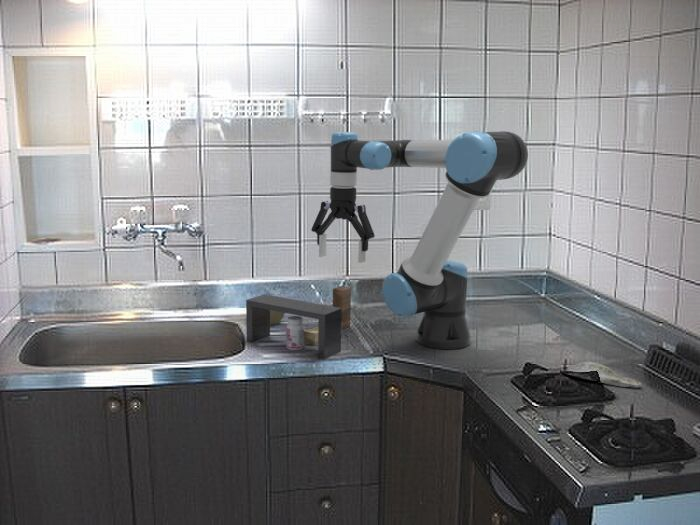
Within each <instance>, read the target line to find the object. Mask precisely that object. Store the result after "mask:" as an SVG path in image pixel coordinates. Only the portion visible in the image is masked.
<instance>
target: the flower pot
mask: <svg viewBox="0 0 700 525" xmlns="http://www.w3.org/2000/svg"><path fill="white" fill-rule="evenodd" d="M276 296H277V297H280V296H279V295H276ZM282 297H283V296H282ZM283 298H285V297H283ZM285 314H286V313H284V312H279V311H273V310H270V326H273V325H279V323H281V321H282V319H283V318H284V316H285Z"/></svg>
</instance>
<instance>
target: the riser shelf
mask: <svg viewBox="0 0 700 525" xmlns="http://www.w3.org/2000/svg"><path fill="white" fill-rule="evenodd" d="M277 296H278V295H271V294H265V293H263V294H260V295H258V296H254V297H251V298H248V299H246V300H245V303H246V304H245V310H246V311H245V312H246V314H245V315H246V319H245V320H246V342H247V343H251V344H253V343H255V342H258V341H261V340H264V339H266V338H269V337H270V336H271V325H270V310H273V311H279V312H284V313H285V314H289V315H293V316H300V317H305V318H311V319H315V320H318V321H317V322H318V325H317V326H318V345H317V346H318V347H317V352H318V353H317V356H318V357H317V358H318V359H321V360H326V359H328V358H330V357H333V356H334V355H336V354H339V353H340V352H342V330H341V321H342V308H338V307H333V305H326V304H320V303H315V302H310V301H304V300H299V299H293V298H288V297H287V298H286V297H284V298H283V296H279V297H277Z"/></svg>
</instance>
